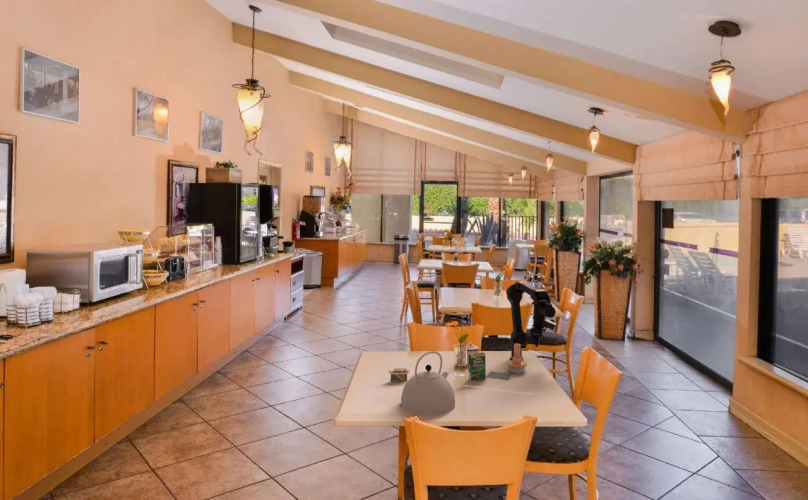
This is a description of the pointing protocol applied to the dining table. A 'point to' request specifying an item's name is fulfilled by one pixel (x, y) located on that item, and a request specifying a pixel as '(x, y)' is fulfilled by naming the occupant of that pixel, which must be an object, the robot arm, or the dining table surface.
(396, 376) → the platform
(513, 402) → the dining table surface
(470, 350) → the teacup with lid
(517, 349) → the wooden peg stand
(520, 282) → the robot arm
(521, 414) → the dining table surface
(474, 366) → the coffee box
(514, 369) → the bowl
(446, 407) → the kettle
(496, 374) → the mat
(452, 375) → the dining table surface
